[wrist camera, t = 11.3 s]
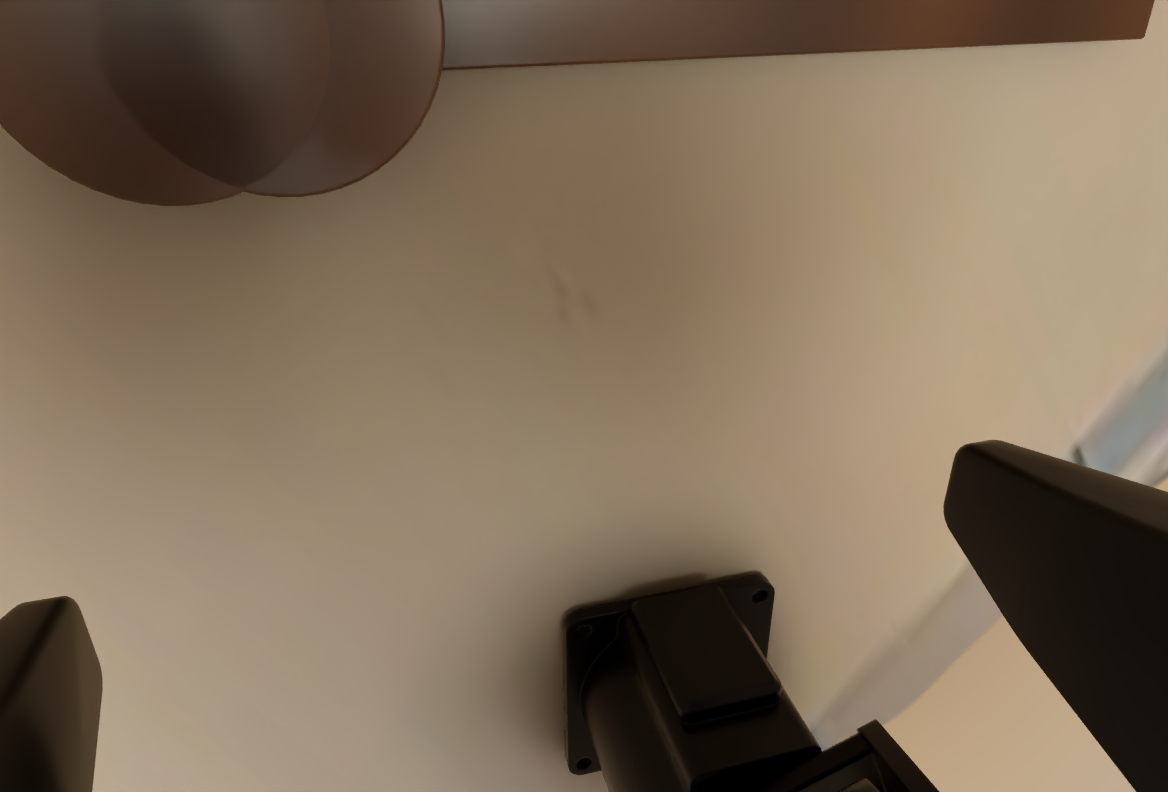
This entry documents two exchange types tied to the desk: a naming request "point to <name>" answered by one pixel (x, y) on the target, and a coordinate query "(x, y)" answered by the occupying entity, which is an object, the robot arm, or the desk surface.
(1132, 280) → the desk surface
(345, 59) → the wooden spoon
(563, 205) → the desk surface
